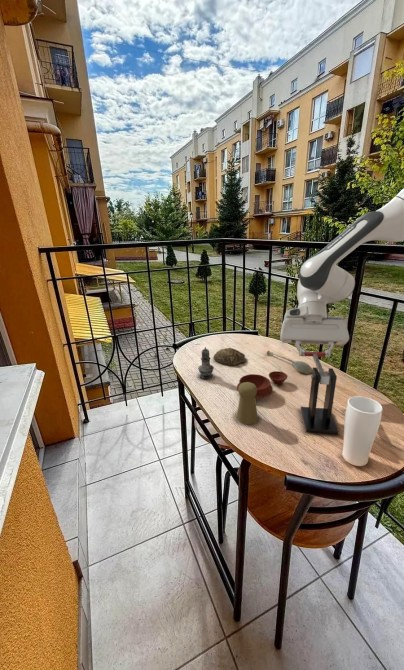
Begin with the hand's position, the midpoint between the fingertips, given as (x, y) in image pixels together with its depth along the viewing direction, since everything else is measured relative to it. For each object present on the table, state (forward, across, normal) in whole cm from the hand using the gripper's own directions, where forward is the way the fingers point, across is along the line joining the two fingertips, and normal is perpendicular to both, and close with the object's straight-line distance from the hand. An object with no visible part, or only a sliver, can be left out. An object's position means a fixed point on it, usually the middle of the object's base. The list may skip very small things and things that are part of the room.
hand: (314, 356), depth 86 cm
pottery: (+9, +15, -12) cm, 21 cm away
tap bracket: (+19, 0, 0) cm, 19 cm away
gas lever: (+5, 0, +4) cm, 7 cm away
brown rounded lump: (-7, +28, -28) cm, 40 cm away
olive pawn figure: (+20, +20, 0) cm, 28 cm away
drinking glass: (+29, -6, +9) cm, 30 cm away
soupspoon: (-6, +5, -27) cm, 28 cm away
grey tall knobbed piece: (+4, +36, -16) cm, 39 cm away
